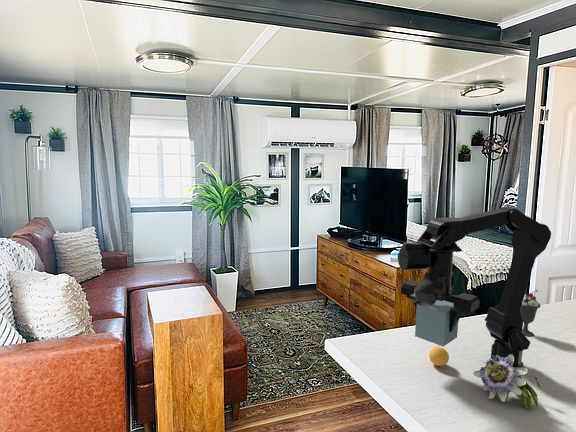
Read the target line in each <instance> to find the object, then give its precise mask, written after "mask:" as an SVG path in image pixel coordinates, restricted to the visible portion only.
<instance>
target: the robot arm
mask: <svg viewBox="0 0 576 432" xmlns="http://www.w3.org/2000/svg"><path fill="white" fill-rule="evenodd" d="M503 226H504V227H505V228H506V229H507V230H508V231H509V232H511V233H512V234H511V244H512V249H513V256H512V259H511V262H510V266H509V270H508V273H507V276H506V280H505V283H504V286H503V287H504V288H503V290H502V293H501V297H500V300H499V302H498V304H497V305H496V306H494V307H492V306H489V307H488V309H487V314H486V317H485V319H484V321H485V327H486V328H487V331H488V332H489V333H490V334H489V335H490V337H491V338H494V340H493V343H492V344H491V349H490V351H491V352H490V359H491V360H492V359H493V358H492V356H491V355H494V357H496V355H498V356H499V357H501V358H502V357H504V358H506V357H508V356H509V355H512V354H513V356H514V362H513V367H517V368H523V366H524V362H523V361H522V359H523V351H524V350H525V351H527V350H528V349H529V347H530V345H531V341H530V340H529V339H528V338H527V336H524V334H523V333H522V329H523V327H524V322H523V320H522V316H521V312H520V309H521V305H522V302H523V299H524V295H526V292H527V288H528V284H529V281H530V278H531V274H532V271H533V268H534V265H535V262H536V259H537V257H539V256H540V255H541V254H542V253H543V252H544V251H546V248H547V246H548V244H549V242H550V240H551V238H552V231H551V229H550V227H549V226H548V225H546V224H545V223H541V222H539V221H537V220H535V219H533V218H531V217H529V216H528V215H526V214H525V213H523V212H522V211H520V210H519V209H518V208H515V207H509V206H501V207H500V208H497V209H493V210H489V211H484V212H481V213H475V214H472V215H471V214H470V215H466V216H461V217H435V218H432V219H431V220H429V222H428V224H427V227H426V229H425V230H424V231H423V232H422V233H421V235H420V236H419V238H418V239H417V240H416V242H402V247H400V249H399V250H398V253H397V262H398V265H399V268H400V269H401V270H402V271H411V270H413V271H414V270H415V271H416V270H426V269H427V271H426V272H424V276H423V277H424V278H422V280H421V281H417V280H414V279H410V280H407V281H405V282H402V283H401V285H400V290H399V293H400V294H401V295H404V296H405V297H406V298H407V299H409V300H410V301H411V302H412V303H413V305H414V308H415V309H416V308H417V304H418V303H420V302H424V303H427V304H429V305H433V304H434V303H435V302H436V301H437V300H439V301H447V302H451V303H454V304H453V306H454V307H453V308H451V309H450V312H451V319H450V326H449V332H453V330H454V328H455V326H456V325H457V323H458V324H459V321H460V319H461V318H462V316H463V315H464V314H465V313H470V314H471V313H473V311H476V310H477V309H479V308H480V304H481V303H480V299H479V297H478V296H477V295H472V294H469V293H465V292H463V293H461V294H460V293H459V295H455V294H451V293H452V292H453V288H454V287H452V286H451V285H452V277H454V274H455V271H454V272H453V262H454V261H453V259H454V253H457V252H458V253H460V252H462V251H463V250H462V248H461V247H460V246H458V244H457V242H459V241H461V240H463V239H464V238H465V237H466V236H469V235H470V234H474V233H478V232H482V231H486V230H491V229H495V228H499V227H503Z"/></svg>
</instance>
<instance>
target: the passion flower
mask: <svg viewBox="0 0 576 432" xmlns="http://www.w3.org/2000/svg"><path fill="white" fill-rule="evenodd" d="M491 356H492V358H493V359H491V358H489V359H487V360H486V361H485V362H484V364H485V366H481V367H480V369H479V370H476V371H474V372H473V373H472V374H473V375H474V376H475V377H477V378H480V379H481V381H482V384H483V386H482V391H483V392H488V400H494V399H496V398H497V396H498V397H499V399H500V401H501V402H502V403H505V402H507V401H508V400H509V396H510V395H509V394H510V393H513V394H515V395H516V396H521V400H522V402H523V406H524V407H525V409H527V410H528V411H531V410H532V408H533V400H534V403H535V405H536V407H538V406H539V404H538V402H539V398H538V394H537V392H536V390H535V389H534V388H533V387H532V386H531V385H530V384H529V383H528V382H527V381H526V380H525V379H524V378H530V377H534V379H535V380H536V382H537V386H538V387H541V386H542V384H541V381H540V378H539V377H538V375H535V376H534V375H526V374H528V373H529V369H528V368H525V367H521V368H517V367H513V362H514V356H513V354H512V355H509V356H508V357H506V358H504V357H502V358H501V357H499V356H498V355H496V357H494V355H491V354H490V357H491ZM524 375H525V376H524Z"/></svg>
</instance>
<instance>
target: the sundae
mask: <svg viewBox="0 0 576 432" xmlns="http://www.w3.org/2000/svg"><path fill="white" fill-rule="evenodd" d="M538 291H539V290H538V289H535V290H534V291H533V292H529V293H527V294H525V295H524V299H523V302H522V305H521V309H520V312H521V316H522V320H523V328H522V333H523V334H524V336H525V337H535V334H534V333H533V332H532V331H529V324H531V323H533V322H534V321H535V318H536V315H537V311H538V309H539V308H541V304H540V302H538V300H537V297H536V296H535V294H536V293H537V292H538Z"/></svg>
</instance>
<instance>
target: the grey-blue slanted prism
mask: <svg viewBox="0 0 576 432" xmlns="http://www.w3.org/2000/svg"><path fill="white" fill-rule="evenodd" d="M453 304H454V303H452V302H448V301H445V300H443V301H439V300H437V301H436V302H435V303H434V304H433V305H429V304H427V303H424V302H420V303H418V304H417V308H415V311H416V315H415V330H414V337H416V338H418V339H422V340H424V341H427V342H430V343H432V344H435V345H438V346H439V347H442V348H444V347H446V346H447V345H448V344H449V343H451V342H453V341H454V340H455V339H457V338H458V329H459V322H458V323H457V325H456V326H455V328H454V330H453V332H449V326H450V319H451V312H450V309H451V308H453V307H454V306H453Z"/></svg>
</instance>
